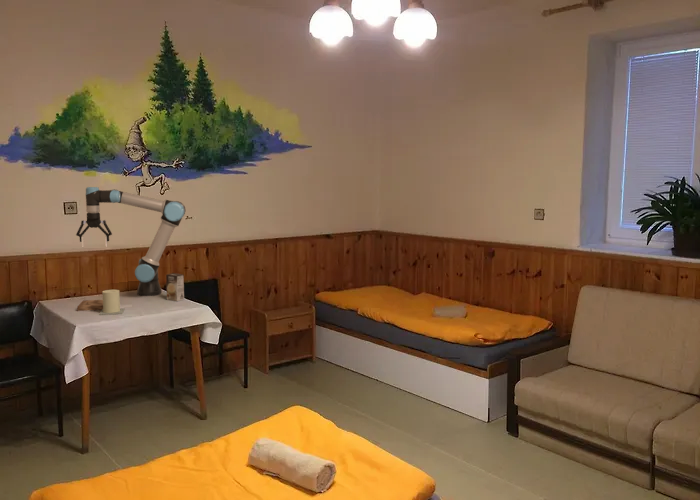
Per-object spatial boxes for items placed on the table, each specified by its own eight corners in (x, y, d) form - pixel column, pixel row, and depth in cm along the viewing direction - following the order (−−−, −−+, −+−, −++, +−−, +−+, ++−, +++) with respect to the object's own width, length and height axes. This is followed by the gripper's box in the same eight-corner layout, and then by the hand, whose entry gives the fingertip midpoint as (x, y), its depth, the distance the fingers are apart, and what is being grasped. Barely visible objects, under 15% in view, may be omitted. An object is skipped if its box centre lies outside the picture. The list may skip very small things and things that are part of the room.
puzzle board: (113, 303, 371) (113, 299, 371) (109, 309, 355) (109, 305, 354) (83, 304, 367) (83, 300, 367) (77, 310, 351) (77, 306, 350)
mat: (124, 309, 355) (124, 308, 355) (121, 314, 344) (121, 313, 343) (102, 310, 352) (102, 309, 352) (99, 315, 341) (98, 314, 341)
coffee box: (166, 299, 382) (165, 274, 380) (173, 298, 388) (172, 272, 386) (177, 301, 378) (176, 275, 376) (184, 299, 384) (184, 274, 382)
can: (114, 313, 342) (113, 292, 341) (99, 312, 344) (98, 291, 343) (123, 309, 351) (122, 289, 350) (109, 309, 353) (108, 288, 352)
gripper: (115, 211, 382) (117, 245, 385) (72, 212, 376) (74, 246, 379) (114, 212, 375) (115, 247, 377) (69, 213, 369) (71, 248, 372)
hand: (94, 247), depth 378 cm, fingers open, 13 cm apart
